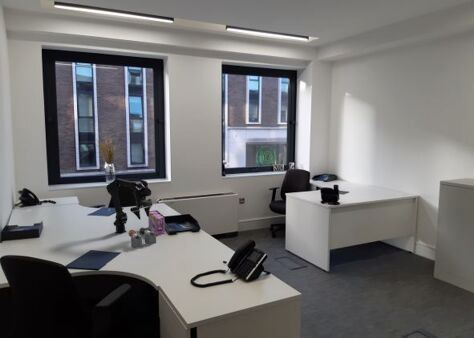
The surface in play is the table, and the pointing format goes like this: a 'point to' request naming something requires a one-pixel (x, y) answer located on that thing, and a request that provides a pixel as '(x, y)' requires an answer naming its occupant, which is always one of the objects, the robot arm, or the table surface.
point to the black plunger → (143, 231)
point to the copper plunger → (132, 233)
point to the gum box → (156, 222)
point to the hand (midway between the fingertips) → (144, 218)
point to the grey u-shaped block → (150, 238)
